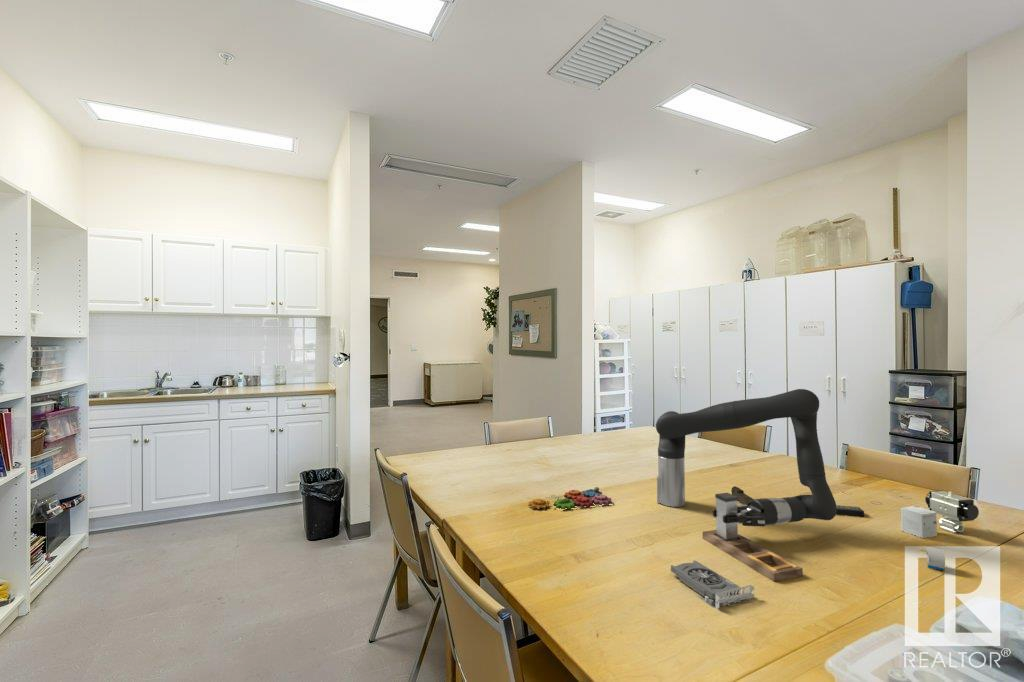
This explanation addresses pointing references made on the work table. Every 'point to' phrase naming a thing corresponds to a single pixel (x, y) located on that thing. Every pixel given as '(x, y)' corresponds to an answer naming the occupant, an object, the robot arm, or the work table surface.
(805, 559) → the work table surface
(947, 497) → the pneumatic valve
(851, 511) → the multiport hub
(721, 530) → the peg
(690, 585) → the graphics card
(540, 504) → the gear puzzle
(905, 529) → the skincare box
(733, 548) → the rail
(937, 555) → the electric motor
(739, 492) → the hand tool
